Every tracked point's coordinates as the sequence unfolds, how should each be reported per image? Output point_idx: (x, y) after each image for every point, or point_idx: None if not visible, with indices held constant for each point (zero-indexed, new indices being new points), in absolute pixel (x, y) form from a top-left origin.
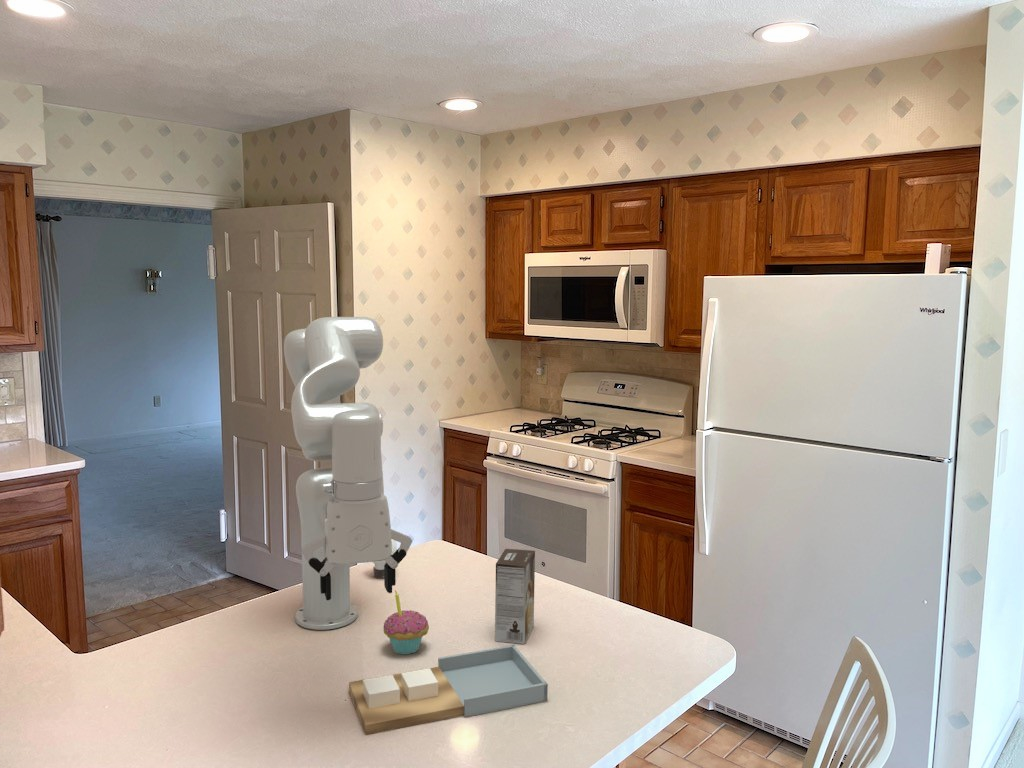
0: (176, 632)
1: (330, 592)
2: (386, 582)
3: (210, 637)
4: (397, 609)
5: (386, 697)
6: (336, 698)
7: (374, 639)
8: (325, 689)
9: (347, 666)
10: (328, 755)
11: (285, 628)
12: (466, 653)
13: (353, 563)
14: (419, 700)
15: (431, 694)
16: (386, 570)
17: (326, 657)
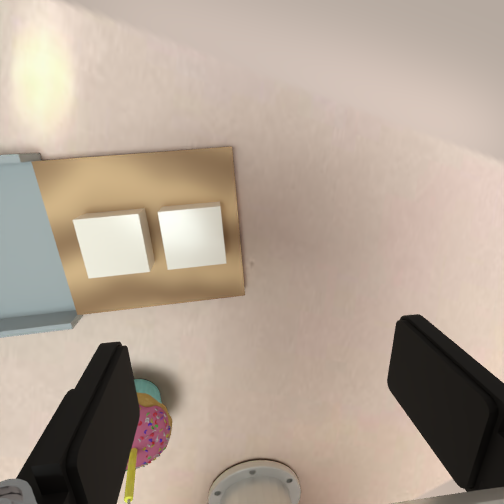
0: (445, 471)
1: (421, 337)
2: (119, 403)
3: (409, 456)
4: (135, 462)
5: (186, 207)
6: (265, 271)
7: (188, 428)
8: (278, 300)
9: (238, 359)
10: (298, 101)
11: (314, 469)
12: (10, 334)
13: (416, 501)
14: (123, 205)
15: (96, 213)
16: (91, 475)
17: (266, 388)
